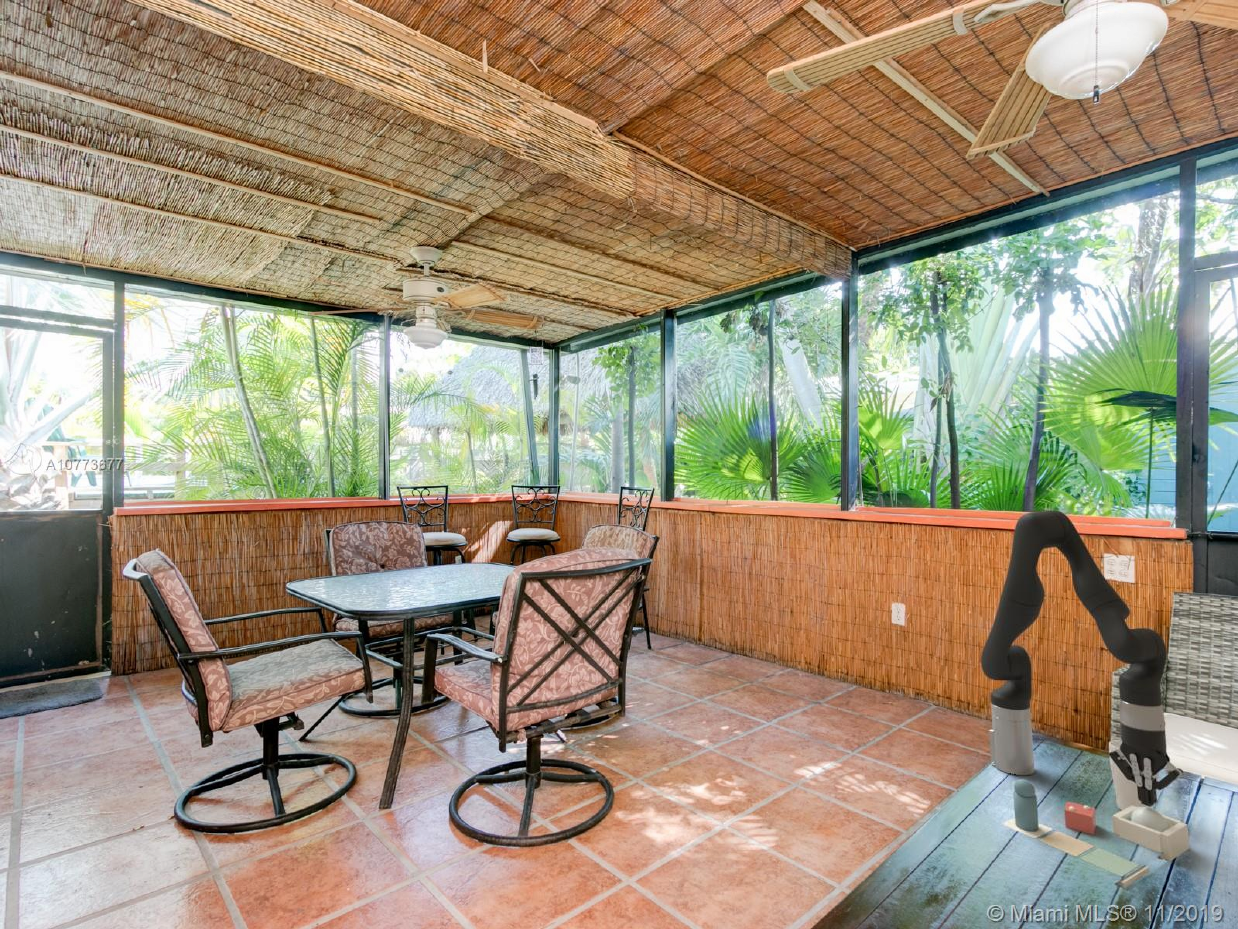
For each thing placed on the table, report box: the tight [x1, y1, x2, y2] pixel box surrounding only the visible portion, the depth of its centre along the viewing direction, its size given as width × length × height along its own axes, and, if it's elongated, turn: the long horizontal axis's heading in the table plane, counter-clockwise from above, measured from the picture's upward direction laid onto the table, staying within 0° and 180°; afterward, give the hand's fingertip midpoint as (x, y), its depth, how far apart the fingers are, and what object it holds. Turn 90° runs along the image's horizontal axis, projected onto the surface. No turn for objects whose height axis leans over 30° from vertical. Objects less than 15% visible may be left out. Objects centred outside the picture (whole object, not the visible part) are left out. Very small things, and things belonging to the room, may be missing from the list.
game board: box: [1001, 817, 1150, 889], centre depth 134 cm, size 25×10×1 cm, turn 28°
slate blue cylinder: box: [1013, 778, 1039, 832], centre depth 141 cm, size 4×4×10 cm
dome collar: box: [1112, 805, 1190, 862], centre depth 135 cm, size 10×10×5 cm
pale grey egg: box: [1131, 806, 1168, 832], centre depth 135 cm, size 6×6×7 cm
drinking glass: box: [1108, 739, 1147, 811], centre depth 149 cm, size 7×7×15 cm
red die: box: [1064, 801, 1097, 836], centre depth 140 cm, size 5×5×6 cm
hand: (1147, 804), depth 135 cm, fingers closed
